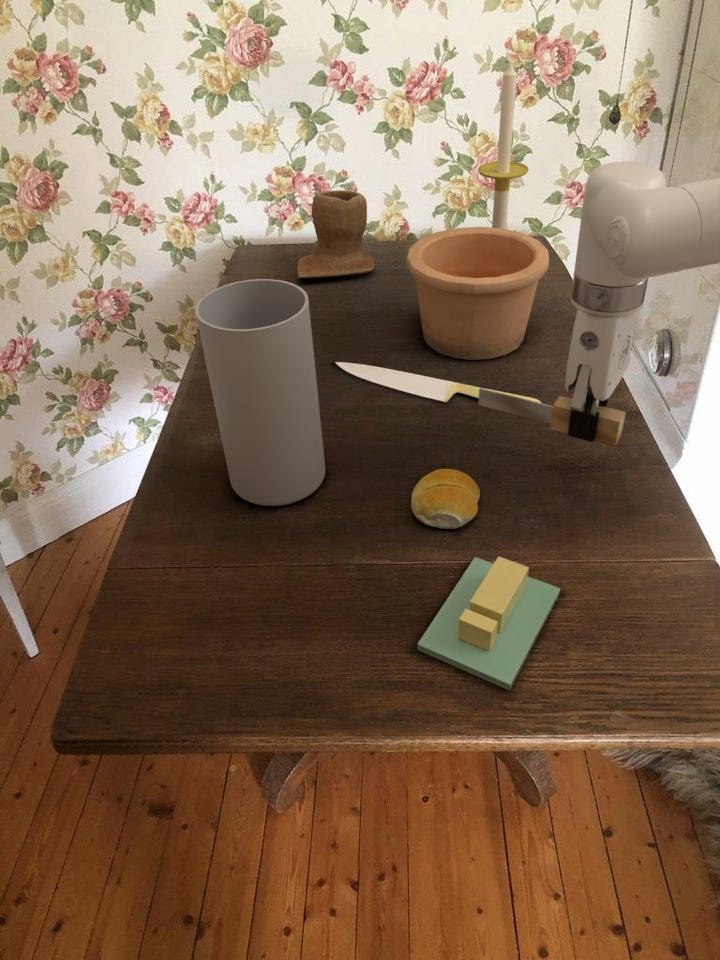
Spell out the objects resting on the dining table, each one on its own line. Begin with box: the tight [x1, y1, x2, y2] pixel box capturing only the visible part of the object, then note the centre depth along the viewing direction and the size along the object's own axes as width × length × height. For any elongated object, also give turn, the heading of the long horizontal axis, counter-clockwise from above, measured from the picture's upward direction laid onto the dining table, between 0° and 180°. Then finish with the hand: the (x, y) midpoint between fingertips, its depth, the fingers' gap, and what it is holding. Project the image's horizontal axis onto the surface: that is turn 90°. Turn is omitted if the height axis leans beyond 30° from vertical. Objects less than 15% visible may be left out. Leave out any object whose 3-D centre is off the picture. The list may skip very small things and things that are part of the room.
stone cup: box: [296, 189, 375, 279], centre depth 144 cm, size 15×12×15 cm
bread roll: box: [410, 468, 481, 530], centre depth 92 cm, size 8×9×4 cm
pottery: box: [406, 226, 550, 361], centre depth 121 cm, size 22×22×14 cm
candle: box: [477, 55, 530, 230], centre depth 130 cm, size 10×10×38 cm
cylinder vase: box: [194, 278, 326, 507], centre depth 91 cm, size 12×12×25 cm
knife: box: [334, 361, 542, 403], centre depth 114 cm, size 1×34×5 cm
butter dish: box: [416, 555, 561, 691], centre depth 78 cm, size 10×14×4 cm
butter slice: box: [458, 609, 498, 651], centre depth 75 cm, size 4×2×3 cm, turn 59°
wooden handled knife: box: [478, 387, 627, 447], centre depth 92 cm, size 18×2×4 cm, turn 59°
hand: (585, 429), depth 91 cm, fingers closed on wooden handled knife, 2 cm apart
